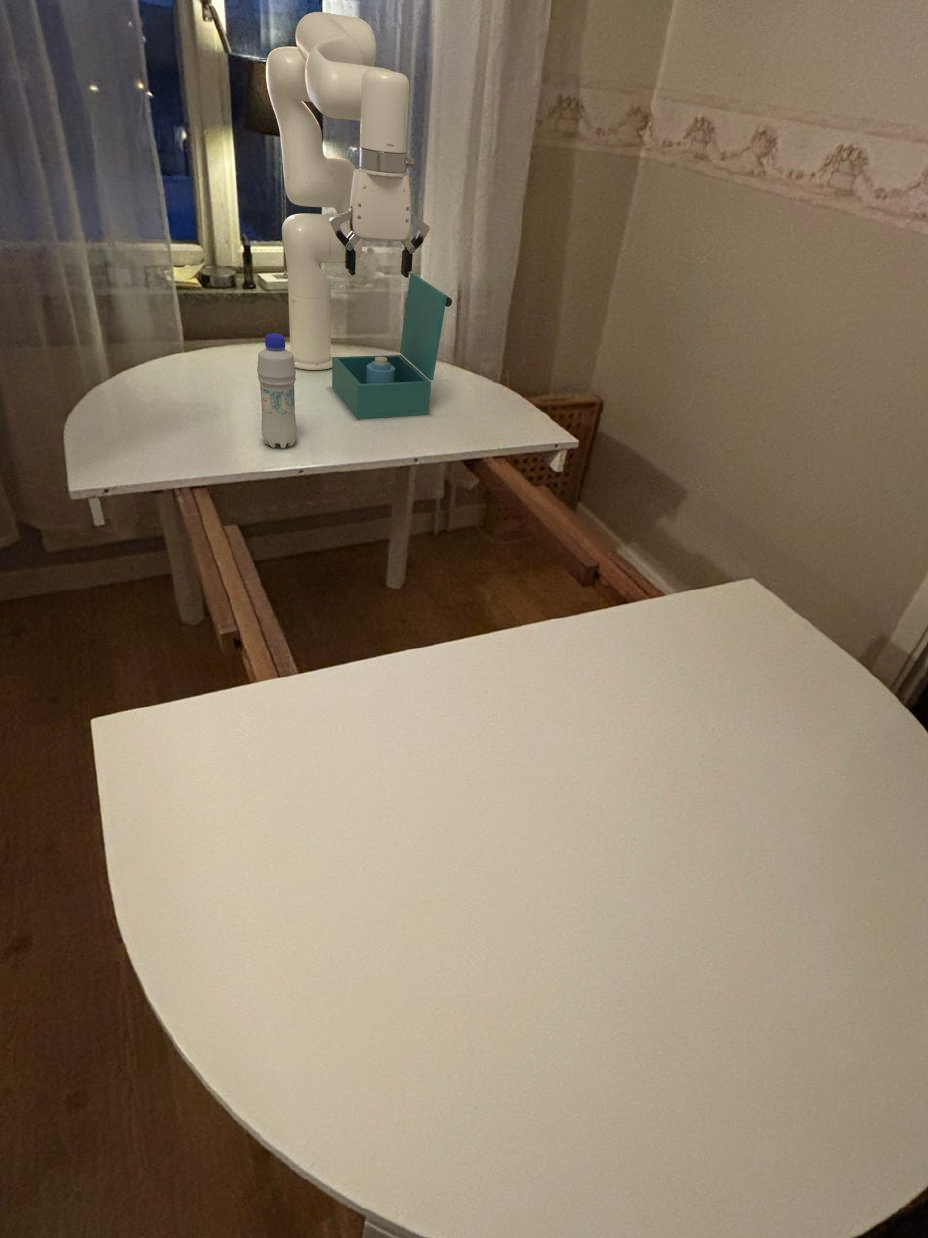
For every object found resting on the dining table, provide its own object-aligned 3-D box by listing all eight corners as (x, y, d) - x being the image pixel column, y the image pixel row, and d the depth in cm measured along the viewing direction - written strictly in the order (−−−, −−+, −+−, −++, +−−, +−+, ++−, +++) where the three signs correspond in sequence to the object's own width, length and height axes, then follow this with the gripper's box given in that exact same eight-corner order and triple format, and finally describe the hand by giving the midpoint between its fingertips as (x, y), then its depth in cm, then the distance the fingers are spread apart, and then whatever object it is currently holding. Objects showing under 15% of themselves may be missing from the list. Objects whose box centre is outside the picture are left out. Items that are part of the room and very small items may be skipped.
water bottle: (362, 392, 162) (363, 354, 157) (388, 391, 164) (389, 353, 159) (370, 402, 158) (372, 363, 153) (397, 401, 160) (399, 362, 155)
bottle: (257, 437, 140) (250, 328, 128) (292, 435, 142) (289, 327, 130) (266, 452, 135) (259, 340, 123) (302, 449, 138) (299, 339, 126)
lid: (443, 295, 144) (466, 297, 147) (410, 272, 157) (432, 275, 159) (429, 380, 154) (451, 381, 156) (399, 352, 166) (420, 353, 169)
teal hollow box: (357, 419, 152) (357, 385, 148) (332, 388, 165) (332, 356, 161) (428, 414, 158) (431, 382, 154) (399, 385, 171) (401, 354, 167)
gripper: (427, 164, 127) (420, 271, 137) (326, 155, 122) (326, 267, 132) (439, 170, 121) (430, 282, 131) (333, 161, 116) (333, 277, 126)
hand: (378, 274), depth 132 cm, fingers open, 9 cm apart
